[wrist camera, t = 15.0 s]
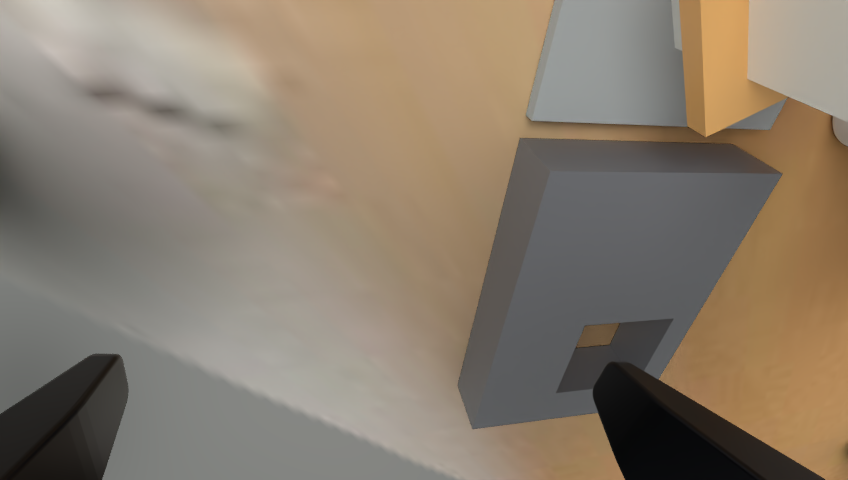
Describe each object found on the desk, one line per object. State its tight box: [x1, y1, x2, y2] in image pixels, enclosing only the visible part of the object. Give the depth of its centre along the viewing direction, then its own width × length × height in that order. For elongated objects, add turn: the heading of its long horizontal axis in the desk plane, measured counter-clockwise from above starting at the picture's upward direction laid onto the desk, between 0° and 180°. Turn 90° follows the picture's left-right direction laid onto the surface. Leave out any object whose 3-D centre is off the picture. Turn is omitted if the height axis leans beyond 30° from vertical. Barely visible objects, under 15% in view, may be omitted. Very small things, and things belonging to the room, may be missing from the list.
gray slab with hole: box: [458, 138, 782, 429], centre depth 25 cm, size 11×16×3 cm
